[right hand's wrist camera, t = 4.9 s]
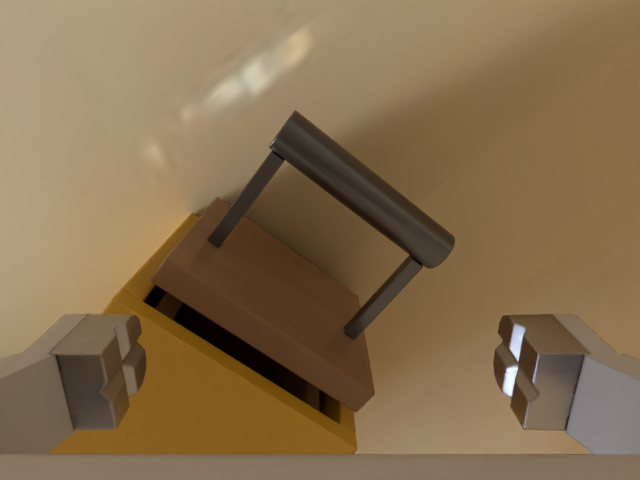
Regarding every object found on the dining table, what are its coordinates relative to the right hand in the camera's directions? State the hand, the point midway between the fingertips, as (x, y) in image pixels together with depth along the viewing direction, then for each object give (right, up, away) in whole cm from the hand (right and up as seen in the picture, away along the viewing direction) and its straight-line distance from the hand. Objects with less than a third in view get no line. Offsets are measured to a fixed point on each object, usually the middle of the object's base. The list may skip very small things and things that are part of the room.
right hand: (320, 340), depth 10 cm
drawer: (-4, -1, +15) cm, 15 cm away
